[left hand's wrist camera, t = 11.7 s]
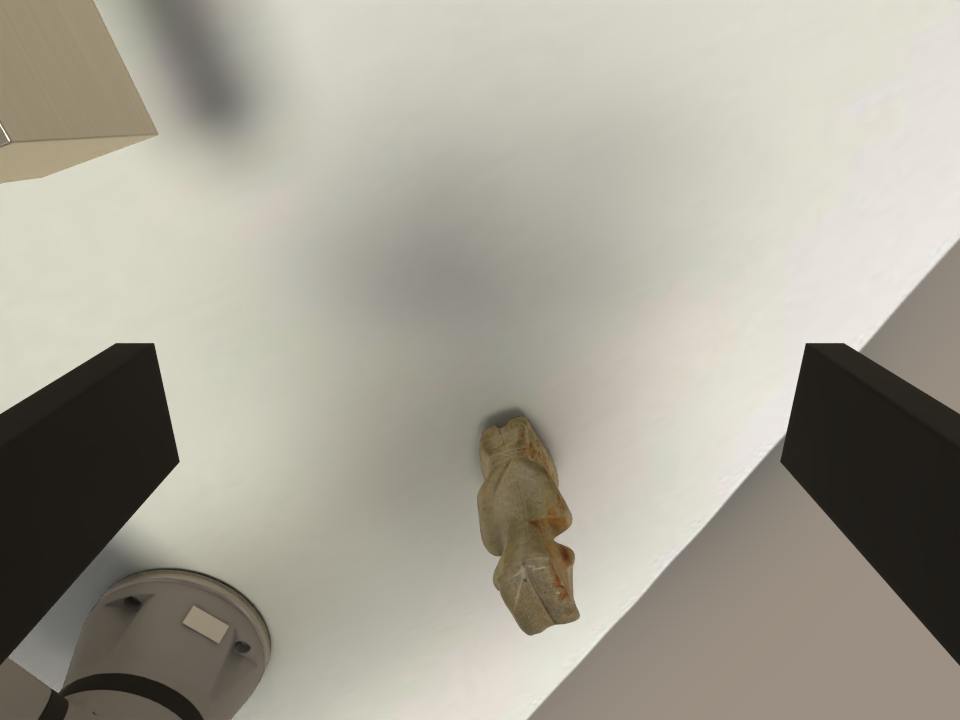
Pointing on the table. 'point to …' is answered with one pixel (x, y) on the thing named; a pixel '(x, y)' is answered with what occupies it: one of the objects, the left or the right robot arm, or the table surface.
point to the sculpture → (526, 527)
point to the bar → (62, 89)
